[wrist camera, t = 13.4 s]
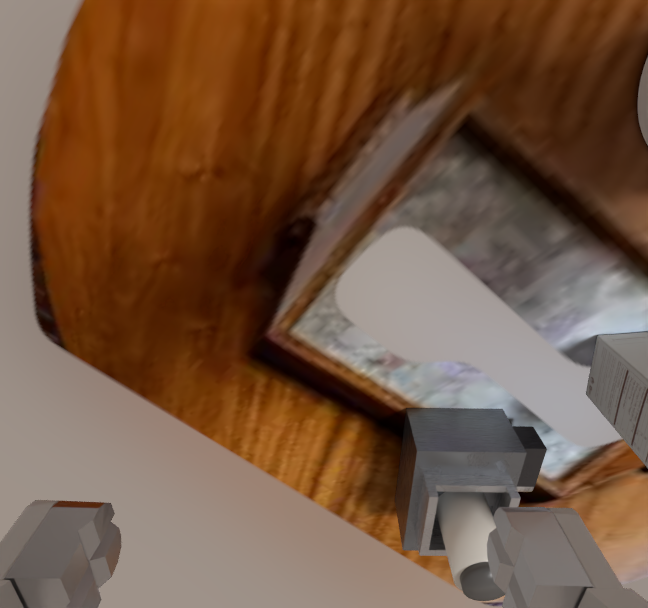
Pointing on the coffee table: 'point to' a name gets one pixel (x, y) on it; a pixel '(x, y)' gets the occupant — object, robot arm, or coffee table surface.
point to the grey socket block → (460, 467)
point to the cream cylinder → (468, 542)
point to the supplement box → (622, 386)
